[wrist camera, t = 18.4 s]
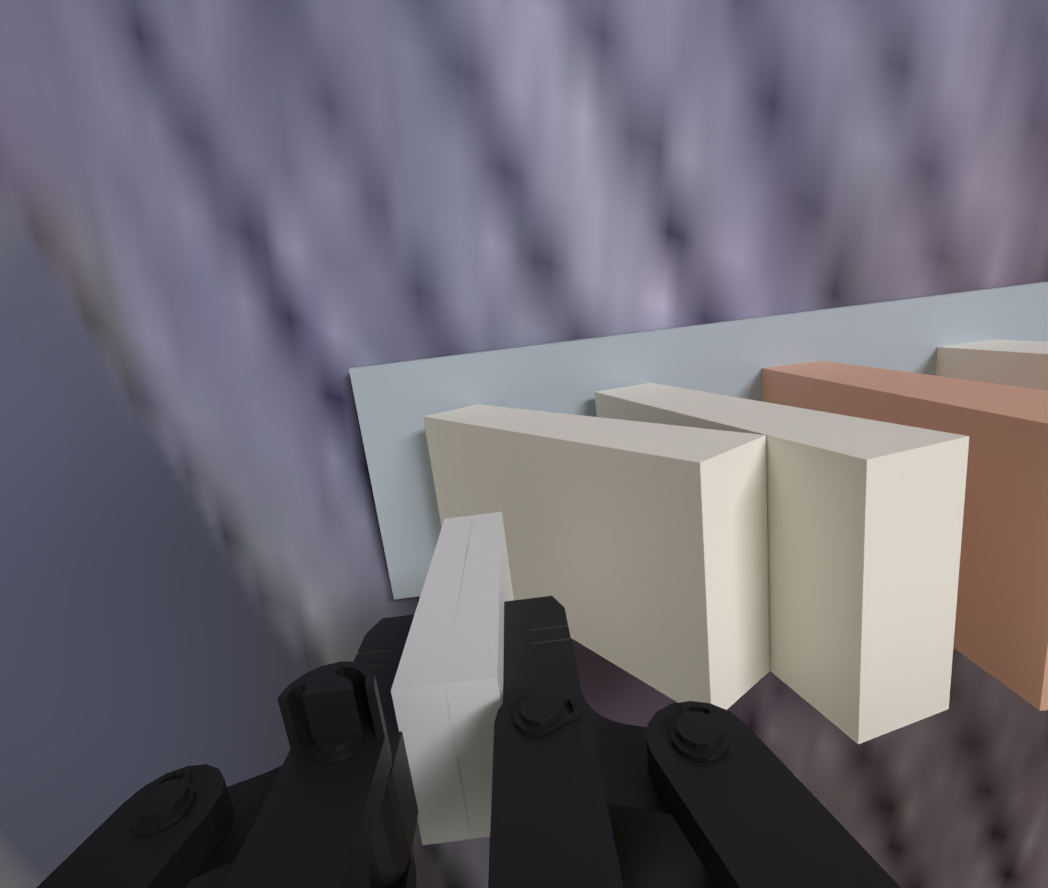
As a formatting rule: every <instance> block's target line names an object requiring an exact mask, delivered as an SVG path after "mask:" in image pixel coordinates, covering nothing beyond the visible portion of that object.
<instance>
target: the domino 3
mask: <svg viewBox="0 0 1048 888" xmlns="http://www.w3.org/2000/svg"><path fill="white" fill-rule="evenodd" d="M936 376H942V377H949V378H957V379H964V380H972V381H979V382H987V383H994V384H1002V385H1009V386H1017V387H1024V388H1032V389H1039V390H1047V391H1048V342H1043V341H1019V340H989V341H981V342H973V343H965V344H957V345H949V346H941V347H937V361H936Z"/></svg>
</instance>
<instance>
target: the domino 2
mask: <svg viewBox="0 0 1048 888" xmlns="http://www.w3.org/2000/svg"><path fill="white" fill-rule="evenodd" d="M762 393H763V402H768V403H774V404H780V405H786V406H792V407H798V408H804V409H810V410H816V411H822V412H828V413H834V414H840V415H846V416H852V417H858V418H864V419H870V420H876V421H882V422H888V423H894V424H899V425H905V426H911V427H917V428H923V429H929V430H935V431H941V432H947V433H953V434H959V435H965V436H969V448H968V461H967V474H966V487H965V500H964V513H963V527H962V540H961V553H960V566H959V579H958V592H957V605H956V619H955V632H954V645H953V648H955V649H956V650H957V651H959V652H960V653H962V654H963V655H964V656H966V657H967V658H968V659H970V660H971V661H972V662H974V663H975V664H977V665H978V666H979V667H981V668H982V669H983V670H985V671H986V672H987V673H989V674H990V675H991V676H993V677H994V678H996V679H997V680H998V681H1000V682H1001V683H1002V684H1004V685H1005V686H1006V687H1008V688H1009V689H1011V690H1012V691H1013V692H1015V693H1016V694H1017V695H1019V696H1020V697H1021V698H1023V699H1024V700H1025V701H1027V702H1028V703H1030V704H1031V705H1032V706H1034V707H1035V708H1036V709H1038V710H1039V711H1043V710H1048V391H1047V390H1039V389H1032V388H1024V387H1017V386H1009V385H1002V384H994V383H987V382H979V381H972V380H964V379H957V378H949V377H942V376H934V375H927V374H919V373H912V372H904V371H896V370H889V369H881V368H874V367H866V366H859V365H851V364H844V363H836V362H829V361H814V362H806V363H798V364H791V365H783V366H775V367H767V368H762Z"/></svg>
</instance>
